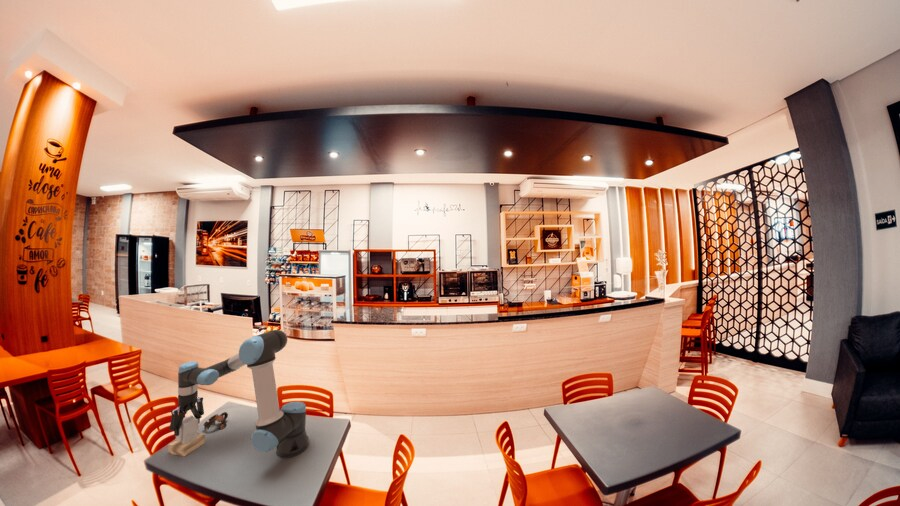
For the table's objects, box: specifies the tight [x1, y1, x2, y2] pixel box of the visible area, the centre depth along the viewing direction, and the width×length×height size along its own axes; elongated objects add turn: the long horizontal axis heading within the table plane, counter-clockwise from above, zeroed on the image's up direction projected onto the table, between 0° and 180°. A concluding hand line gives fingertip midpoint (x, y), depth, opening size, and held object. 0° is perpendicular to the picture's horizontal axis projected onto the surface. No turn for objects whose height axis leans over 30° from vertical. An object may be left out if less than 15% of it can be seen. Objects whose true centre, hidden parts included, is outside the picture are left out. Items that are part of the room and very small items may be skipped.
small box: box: [180, 414, 199, 445], centre depth 145 cm, size 8×6×10 cm
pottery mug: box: [203, 411, 229, 430], centre depth 163 cm, size 12×10×8 cm
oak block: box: [167, 432, 206, 457], centre depth 145 cm, size 10×10×5 cm
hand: (187, 435), depth 145 cm, fingers open, 7 cm apart
